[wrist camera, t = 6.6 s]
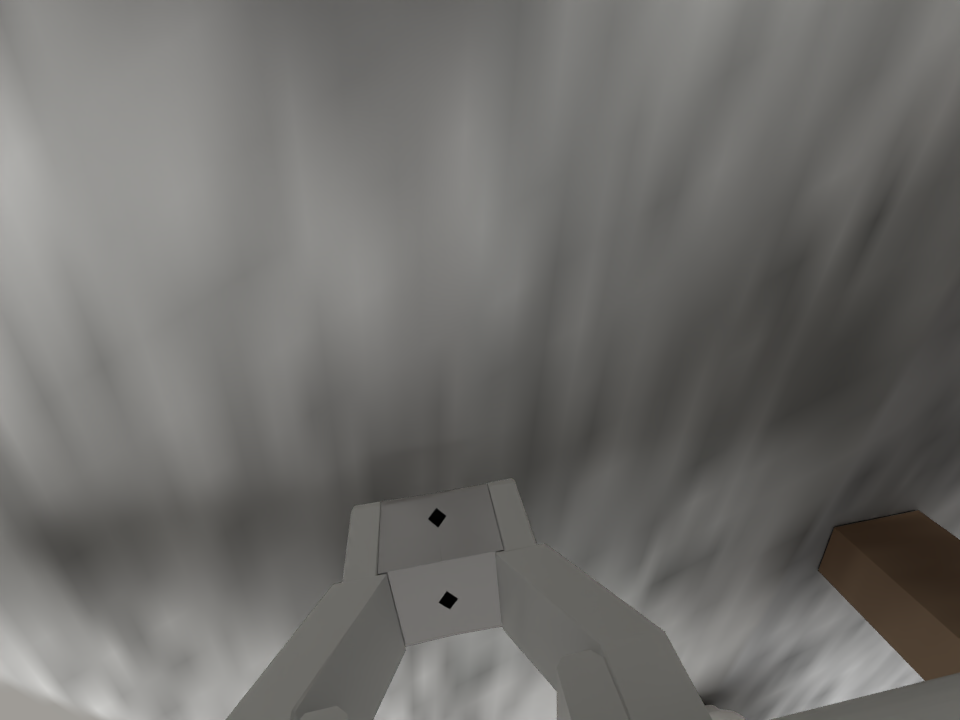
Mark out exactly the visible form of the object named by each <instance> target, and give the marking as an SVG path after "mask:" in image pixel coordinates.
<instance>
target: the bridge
mask: <svg viewBox="0 0 960 720" xmlns="http://www.w3.org/2000/svg"><path fill="white" fill-rule="evenodd" d="M818 571H819V572H820V573H821V574H822V575H823V576H824V577H825V578H826V579H827V580H828V581H829V582H830V583H831V584H832V585H833V586H834V587H835V588H836V590H837V591H838V592H839V593H840V594H841V595H842V596H843V597H844V598H845V599H846V600H847V601H848V602H849V603H850V604H851V605H852V606H853V607H854V608H855V609H856V610H857V611H858V612H859V613H860V614H861V615H862V616H863V617H864V618H865V619H866V620H867V621H868V622H869V624H870V625H871V626H872V627H873V628H874V629H875V630H876V631H877V632H878V633H879V634H880V635H881V636H882V637H883V638H884V639H885V640H886V641H887V642H888V643H889V644H890V645H891V646H892V647H893V648H894V649H895V650H896V651H897V652H898V653H899V654H900V655H901V656H902V658H903V659H904V660H905V661H906V662H907V663H908V664H909V665H910V666H911V667H912V668H913V669H914V670H915V671H916V672H917V673H918V674H919V675H920V676H921V677H922V678H923V679H924V680H925V681H927V680H931V679H935V678H939V677H943V676H947V675H951V674H955V673H959V672H960V540H959V539H958V538H957V537H955V536H954V535H952V534H951V533H950V532H948V531H947V530H945V529H944V528H943V527H941V526H940V525H938V524H937V523H936V522H934V521H933V520H931V519H930V518H929V517H927V516H926V515H924V514H923V513H922V512H920V511H919V510H917V511H912V512H907V513H902V514H897V515H892V516H888V517H883V518H878V519H873V520H868V521H863V522H858V523H853V524H848V525H843V526H838V527H834V530H833V532H832V535H831V538H830V540H829V543H828V546H827V548H826V551H825V554H824V557H823V559H822V562H821V565H820V567H819V570H818Z"/></svg>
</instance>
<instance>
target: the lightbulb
mask: <svg viewBox="0 0 960 720" xmlns="http://www.w3.org/2000/svg"><path fill="white" fill-rule="evenodd" d="M705 707H706V709H707V711H708V713H709V715H710V716H711V718H712V720H745V718H744V717H743V716H742V715H740V714H739V713H737V712H735V711H731V710H720V709H719V708H717V707H716V706H714V705H705Z"/></svg>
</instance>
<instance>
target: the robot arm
mask: <svg viewBox="0 0 960 720" xmlns="http://www.w3.org/2000/svg"><path fill="white" fill-rule="evenodd" d="M502 626H503V630H504V631H505V632H506V633H507V634H508V635H509V637H510V638H511V639H512V640H513V641H514V642H515V644H516V645H517V646H518V647H519V648H520V649H521V651H522V652H523V653H524V654H525V655H526V656H527V657H528V659H529V660H530V661H531V662H532V663H533V664H534V666H535V667H536V668H537V669H538V670H539V671H540V673H541V674H542V675H543V676H544V677H545V678H546V679H547V681H548V682H549V683H550V684H551V685H552V686H553V688H554V689H555V690H556V691H557V720H712V718H711V716H710V715H709V713H708V711H707V709H706V707H705V705H704V703H703V702H702V700H701V698H700V696H699V694H698V692H697V691H696V689H695V687H694V685H693V683H692V681H691V679H690V678H689V676H688V674H687V672H686V670H685V668H684V666H683V665H682V663H681V661H680V659H679V657H678V655H677V653H676V652H675V650H674V648H673V646H672V644H671V642H670V641H669V639H668V637H667V635H666V633H665V631H663V630H662V629H661V628H659V627H658V626H656V625H655V624H654V623H652V622H651V621H650V620H648V619H647V618H646V617H644V616H643V615H642V614H640V613H639V612H638V611H636V610H635V609H633V608H632V607H631V606H629V605H628V604H627V603H625V602H624V601H623V600H621V599H620V598H619V597H617V596H616V595H615V594H613V593H612V592H610V591H609V590H608V589H606V588H605V587H604V586H602V585H601V584H600V583H598V582H597V581H596V580H594V579H593V578H592V577H590V576H589V575H587V574H586V573H585V572H583V571H582V570H581V569H579V568H578V567H577V566H575V565H574V564H573V563H571V562H570V561H569V560H567V559H566V558H564V557H563V556H562V555H560V554H559V553H558V552H556V551H555V550H554V549H552V548H551V547H550V546H548V545H547V544H546V543H544V544H538V545H537V543H536V540H535V537H534V534H533V531H532V529H531V526H530V523H529V520H528V517H527V514H526V511H525V508H524V505H523V502H522V500H521V497H520V494H519V491H518V488H517V485H516V482H515V480H513V479H512V478H509V479H504V480H499V481H494V482H488V483H487V484H486V483H485V484H480V485H474V486H469V487H463V488H458V489H453V490H447V491H442V492H436V493H431V494H424V495H417V496H411V497H404V498H397V499H391V500H384V501H382V502H375V503H368V504H361V505H355V506H354V507H353V509H352V512H351V517H350V525H349V533H348V541H347V549H346V556H345V564H344V572H343V580H342V582H341V583H336V584H333V585H332V586H331V588H330V589H329V590H328V591H327V593H326V594H325V595H324V596H323V598H322V599H321V600H320V601H319V603H318V604H317V605H316V606H315V608H314V609H313V610H312V612H311V613H310V614H309V615H308V617H307V618H306V619H305V620H304V622H303V623H302V624H301V625H300V627H299V628H298V629H297V630H296V632H295V633H294V634H293V635H292V637H291V638H290V639H289V640H288V642H287V643H286V644H285V646H284V647H283V648H282V649H281V651H280V652H279V653H278V654H277V656H276V657H275V658H274V659H273V661H272V662H271V663H270V664H269V666H268V667H267V668H266V669H265V671H264V672H263V673H262V674H261V676H260V677H259V678H258V680H257V681H256V682H255V683H254V685H253V686H252V687H251V688H250V690H249V691H248V692H247V693H246V695H245V696H244V697H243V698H242V700H241V701H240V702H239V703H238V705H237V706H236V707H235V708H234V710H233V711H232V712H231V714H230V715H229V716H228V717H227V719H226V720H373V719H374V717H375V715H376V713H377V710H378V708H379V706H380V704H381V702H382V700H383V698H384V695H385V693H386V691H387V689H388V687H389V685H390V683H391V681H392V678H393V676H394V674H395V672H396V670H397V668H398V666H399V664H400V661H401V659H402V657H403V655H404V653H405V651H406V649H405V647H406V646H411V645H415V644H419V643H423V642H427V641H431V640H436V639H440V638H444V637H448V636H452V635H457V634H463V633H468V632H474V631H479V630H485V629H490V628H496V627H502ZM770 720H960V672H959V673H955V674H951V675H947V676H943V677H939V678H935V679H931V680H927V681H923V682H919V683H915V684H911V685H907V686H903V687H899V688H895V689H891V690H887V691H883V692H879V693H875V694H871V695H867V696H863V697H859V698H855V699H851V700H847V701H843V702H839V703H835V704H831V705H827V706H823V707H819V708H815V709H811V710H807V711H803V712H799V713H795V714H791V715H787V716H783V717H779V718H774V719H770Z"/></svg>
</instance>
